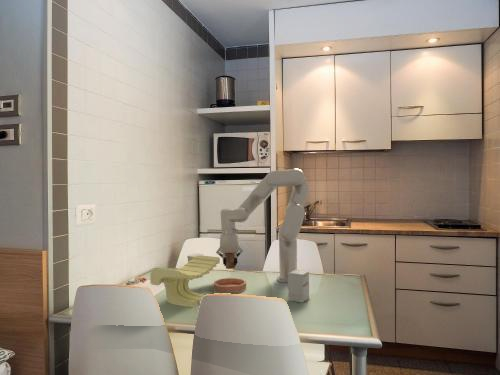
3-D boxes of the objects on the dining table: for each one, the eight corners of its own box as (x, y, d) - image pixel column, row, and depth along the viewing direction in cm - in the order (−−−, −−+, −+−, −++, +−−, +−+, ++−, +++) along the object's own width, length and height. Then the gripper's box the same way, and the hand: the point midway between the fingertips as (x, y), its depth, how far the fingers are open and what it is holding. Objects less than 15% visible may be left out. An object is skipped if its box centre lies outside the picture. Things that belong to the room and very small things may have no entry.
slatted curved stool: (193, 290, 201) (193, 254, 200) (220, 294, 193) (219, 257, 192) (151, 307, 175) (150, 267, 174) (179, 313, 167) (178, 270, 166)
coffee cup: (201, 278, 223) (200, 256, 223) (185, 277, 225) (184, 256, 225) (206, 274, 233) (206, 253, 232) (191, 273, 234) (190, 253, 234)
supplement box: (303, 303, 177) (302, 274, 177) (288, 300, 181) (287, 272, 181) (309, 298, 184) (309, 271, 183) (295, 296, 188) (294, 269, 187)
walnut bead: (235, 266, 219) (234, 251, 219) (234, 268, 214) (233, 253, 214) (226, 266, 219) (225, 252, 219) (225, 269, 214) (224, 254, 214)
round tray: (246, 284, 209) (246, 278, 208) (245, 293, 193) (245, 286, 193) (216, 284, 209) (216, 278, 209) (212, 294, 193) (211, 286, 193)
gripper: (244, 230, 220) (246, 263, 220) (213, 231, 220) (215, 264, 221) (243, 232, 212) (245, 266, 213) (211, 233, 213) (213, 267, 213)
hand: (230, 264), depth 217 cm, fingers closed on walnut bead, 4 cm apart
